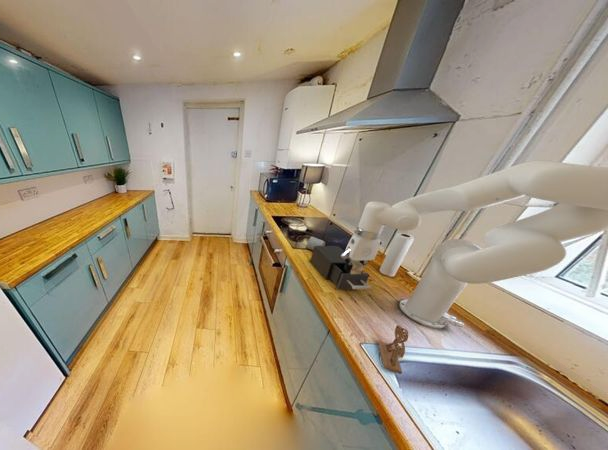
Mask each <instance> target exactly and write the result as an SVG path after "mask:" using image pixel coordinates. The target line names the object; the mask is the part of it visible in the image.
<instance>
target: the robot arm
mask: <svg viewBox="0 0 608 450" xmlns="http://www.w3.org/2000/svg"><path fill="white" fill-rule="evenodd" d="M523 197H529V198H533V199H536V200H540V201H547V202H552V203H557V204H556V205H554V206H552V207H550V208H548V209H546V210H544V211H541V212H538V213H536V214H533V215H530V216H527V217H524V218H521V219H517V220H515V221H512V222H508V223H506V224H503V225H499V226H497V227H494V228H492V229H490V230H488V231H487V232H485V234H484V235H483V242H484V244H485V246H487V247H484V248H481V247H480V246H479V245H478V244H476V243H474V242H472V241H469V240H467V239H461V238H453V239H452V238H451V239H448V240H444V241H443V242H441V243H440V244H438V245H437V246H436V248H435V249H434V251H433V253H432V256H431V259H430V261H429V263H428V266H427V268H426V269H425V272H424V273H423V274H422V276H421V278H420V279H419V281H418V282H417V284H416V286H415V288H414V290H413V291H412V293H411V294H410V296H409V298H408V299H403V300H400V302H399V304H398V306H399V309H400V310H401V311H402V312H403V314H405V315H406V316H407V317H408V318H410V319H411V320H413V321H415V322H416V323H419V324H421V325H423V326H425V327H429V328H433V329H443V328H445V327H446V326H447V325H448V324H450V325H453V326H454V327H457V328H458V329H463V328H464V326H465V323H464V322H462V321H459V320H457V319H458V318H457V317H456V316H454V315H450V314H448V313H447V312H448V311H449V310H450V308H451V307H452V306H453V305H454V303H455V301H456V300H457V299H458V298H459V296H460V295H461V293H462V292H463V291H464V289H465V288H466V287H467V285H468V284H469V285H481V284H482V285H483V284H489V283H495V282H500V281H504V280H509V279H514V278H518V277H523V276H528V275H533V274H537V273H542V272H544V271H548V270H550V269H553V268H555V267H557V266H558V265H560V264H561V263H562V262H564V261H565V259H566V257H567V255H568V254H567V252H568V251H567V249H566V247H565V246H564V244H566V243H570V242H573V241H576V240H579V239H582V238H585V237H589V236H592V235H594V234H598V233H599V232H602V231H603V230H605V229H607V228H608V166H607V167H606V166H605V167H604V166H596V165H595V166H594V165H593V166H592V165H586V164H585V165H584V164H577V163H568V162H563V161H562V162H561V161H552V160H539V159H537V160H530V161H525V162H522V163H518V164H516V165H515V164H514V165H512V166H509V167H506V168H503V169H501V170H498V171H495V172H492V173H489V174H487V175H483V176H480V177H478V178H475V179H472V180H469V181H466V182H463V183H460V184H458V185H453V186H450V187H445V188H442V189H437V190H433V191H428V192H426V193H422V194H417V195H415V196H413V197H409V198H406V199H404V200H402V201H399V202H396V203H394V204H393V205H390V204H389V203H386V202H383V201H374V200H373V201H369V202H367V203H366V204H365V206H364V209H363V211H362V213H361V217H360V220H359V222H358V225H357V228H356V229H355V230H354V231H353V234H352V236H351V238H350V239H349V241H348V243H347V245H346V248H345V250H344V251H345V252H344V253H343V254H342V255H341V257H342V258H343V259H344V260H345V261H346V263H345V266H344V270H345V271H347V272H348V273H350V271H351V268H352V266H353V265H352V263H353V262H354V260H358V261H359V262H360V263H361V264H363V265H364V267H365V266H366V265H368V263H369V262H372V261H374V260H375V259H376V257H377V255H378V252H379V248H380V246H381V245H380V244H381V238H380V237H381V235H382V232H383V231H384V228H385V226H387V227H390V228H393V229H395V230H399V231H412V230H414V229H417V228H418V227H419V226H420V224H422V223H421V222H422V218H421V216H425V215H428V214H432V213H438V212H445V211H446V212H447V211H451V212H452V211H453V212H473V211H477V210H481V209H484V208H488V207H491V206H495V205H498V204H503V203H505V202H509V201H513V200H516V199H520V198H523ZM350 258H351V260H349V259H350ZM361 273H362V272H361Z"/></svg>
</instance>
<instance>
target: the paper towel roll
mask: <svg viewBox="0 0 608 450" xmlns="http://www.w3.org/2000/svg"><path fill="white" fill-rule="evenodd" d="M414 240H415V237H414V236H413V235H412V234H410V233H408V232H406V233H404V232H397V233H396V234H395V237H394V239H393V240H392V243H391V245H390V247H389V249H388V250H387V252H386V255H385V257H384V259H383V262H382V263H381V266H380V268H379V272H380V273H381V274H382V275H385V276H387V277H391V278H392V277H395V276H396V274H397V273H398V270H399V268H400V266H401V264H402V263H403V261H404V259H405V257H406V255H407V253H408V251H409V249H410V247H411V246H412V244H413V242H414Z"/></svg>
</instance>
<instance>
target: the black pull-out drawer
mask: <svg viewBox="0 0 608 450" xmlns="http://www.w3.org/2000/svg"><path fill="white" fill-rule="evenodd" d="M344 266H345V264H333V265H332V267H331V270H330V273H329V277H330V279H329V280H331V281H332V282H333V283H334V284H335V286H336V289H337V290H371V289H372V286H371V285H368V284H367V281H368V279H369V277H370V274H369V273H368V272H364V270H362V273H361V274H350V273H348V272H347V271H345V270H344Z"/></svg>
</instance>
